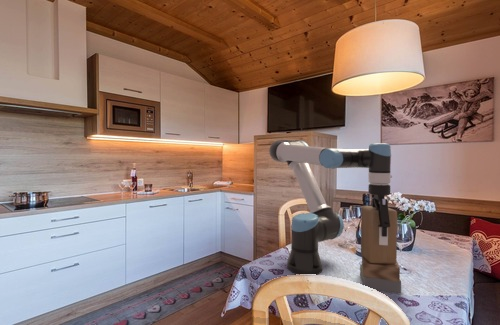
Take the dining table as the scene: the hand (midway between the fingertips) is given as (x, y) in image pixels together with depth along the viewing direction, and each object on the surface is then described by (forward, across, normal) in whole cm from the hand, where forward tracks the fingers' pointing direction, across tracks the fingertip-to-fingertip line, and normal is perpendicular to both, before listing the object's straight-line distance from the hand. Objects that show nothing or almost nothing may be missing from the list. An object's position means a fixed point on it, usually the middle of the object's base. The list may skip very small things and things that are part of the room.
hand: (378, 239), depth 101 cm
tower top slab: (+13, +1, -1) cm, 13 cm away
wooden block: (+8, 0, 0) cm, 8 cm away
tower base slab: (+18, +1, -1) cm, 18 cm away
